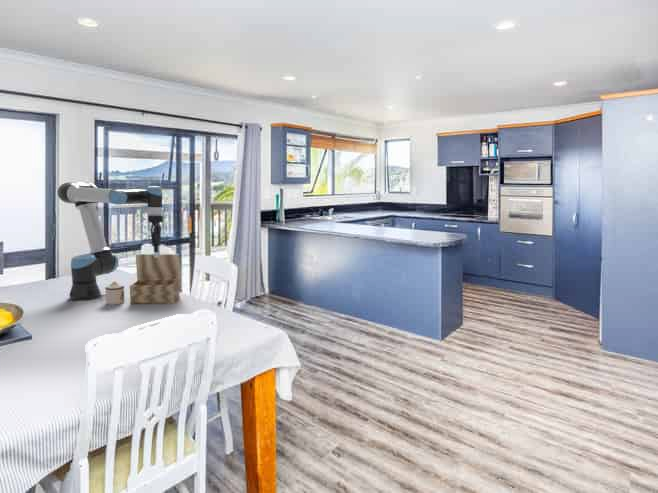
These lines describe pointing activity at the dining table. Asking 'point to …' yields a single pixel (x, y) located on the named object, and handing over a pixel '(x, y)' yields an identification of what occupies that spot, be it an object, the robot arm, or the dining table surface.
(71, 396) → the dining table surface
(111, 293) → the teacup with lid
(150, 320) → the dining table surface
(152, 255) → the lid flap
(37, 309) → the dining table surface
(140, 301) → the wicker basket box
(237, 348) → the dining table surface
